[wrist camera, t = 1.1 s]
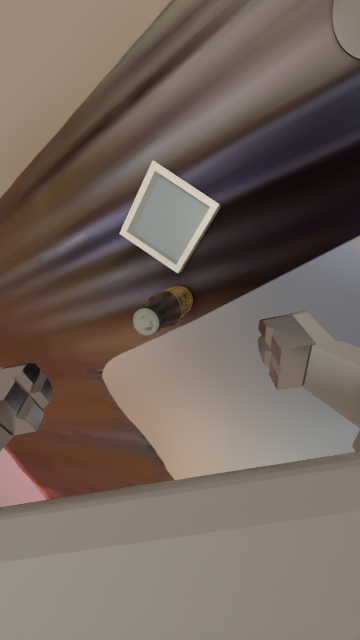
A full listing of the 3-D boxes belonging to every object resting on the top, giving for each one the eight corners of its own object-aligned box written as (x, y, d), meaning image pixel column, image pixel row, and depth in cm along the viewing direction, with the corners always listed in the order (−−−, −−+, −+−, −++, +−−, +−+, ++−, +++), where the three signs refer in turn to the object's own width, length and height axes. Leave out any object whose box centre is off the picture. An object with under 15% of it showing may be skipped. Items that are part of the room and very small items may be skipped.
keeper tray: (158, 165, 44) (152, 160, 41) (221, 207, 44) (219, 204, 41) (126, 234, 50) (119, 233, 47) (181, 272, 49) (177, 273, 46)
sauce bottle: (191, 315, 51) (163, 352, 33) (165, 309, 52) (123, 341, 34) (197, 285, 49) (170, 308, 31) (169, 280, 50) (126, 298, 32)
